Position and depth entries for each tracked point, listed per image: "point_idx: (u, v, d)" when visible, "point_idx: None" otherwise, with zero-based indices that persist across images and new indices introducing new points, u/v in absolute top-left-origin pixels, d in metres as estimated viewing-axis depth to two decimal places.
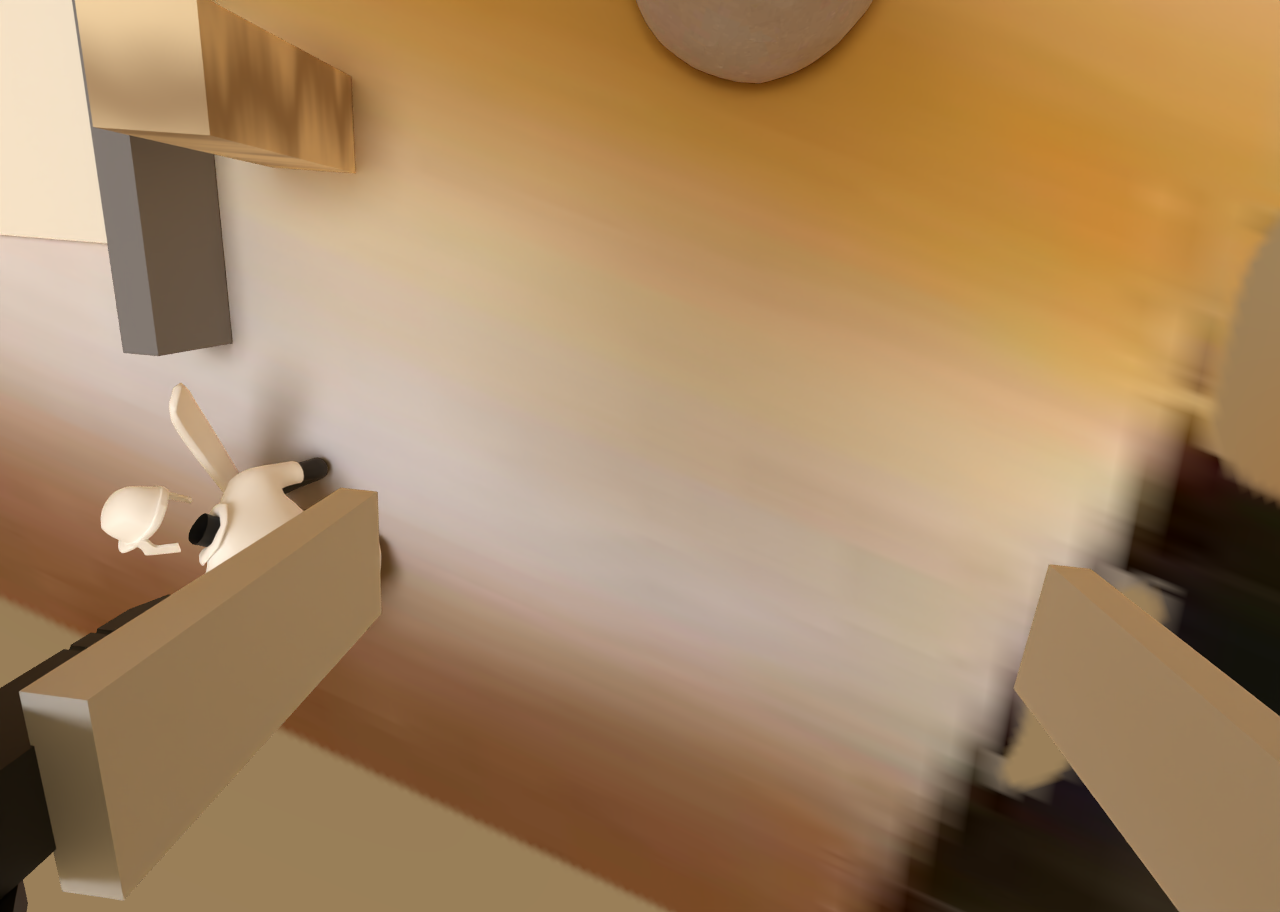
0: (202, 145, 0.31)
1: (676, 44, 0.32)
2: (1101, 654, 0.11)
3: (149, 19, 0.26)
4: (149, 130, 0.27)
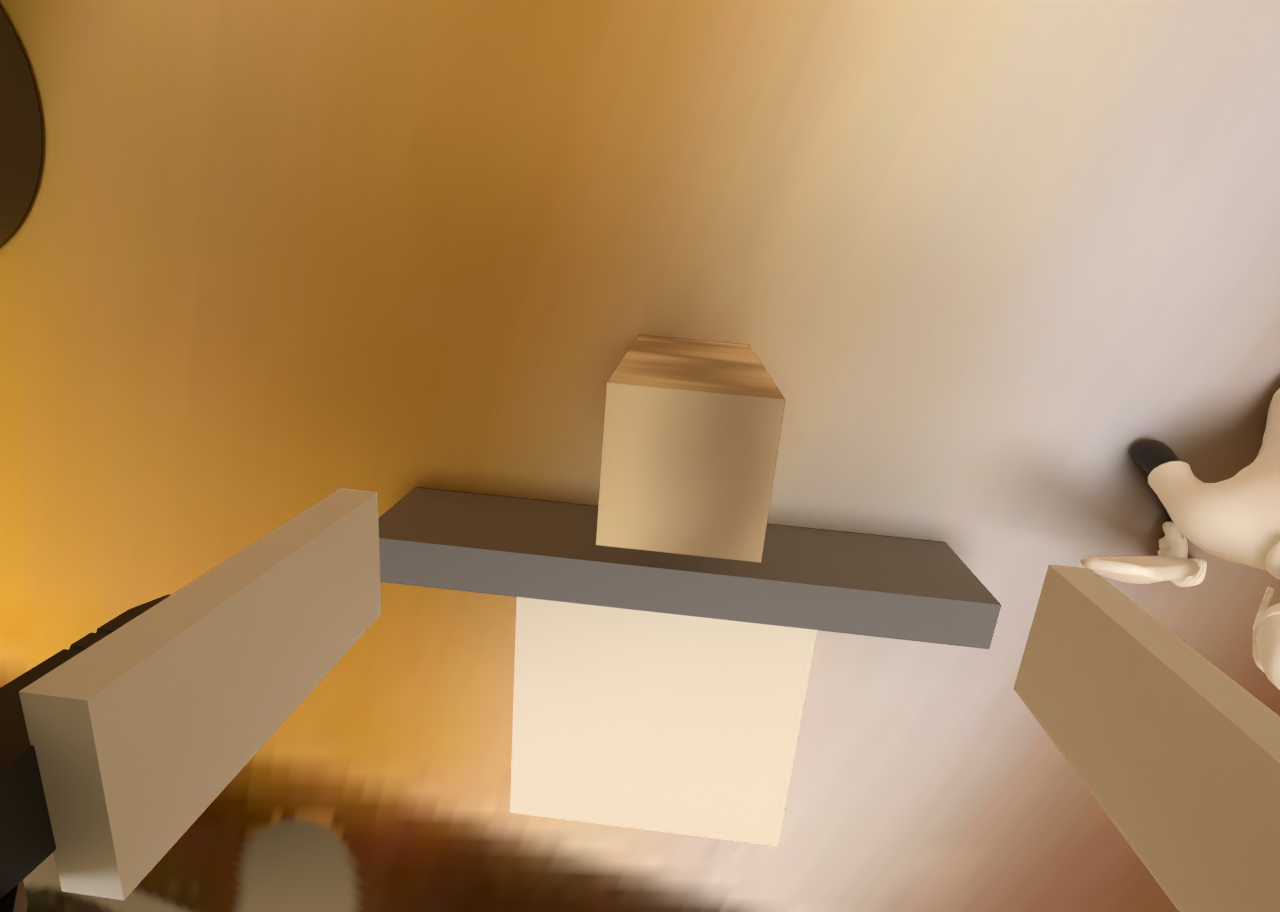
0: None
1: None
2: (1101, 654, 0.11)
3: (636, 453, 0.19)
4: (771, 487, 0.19)
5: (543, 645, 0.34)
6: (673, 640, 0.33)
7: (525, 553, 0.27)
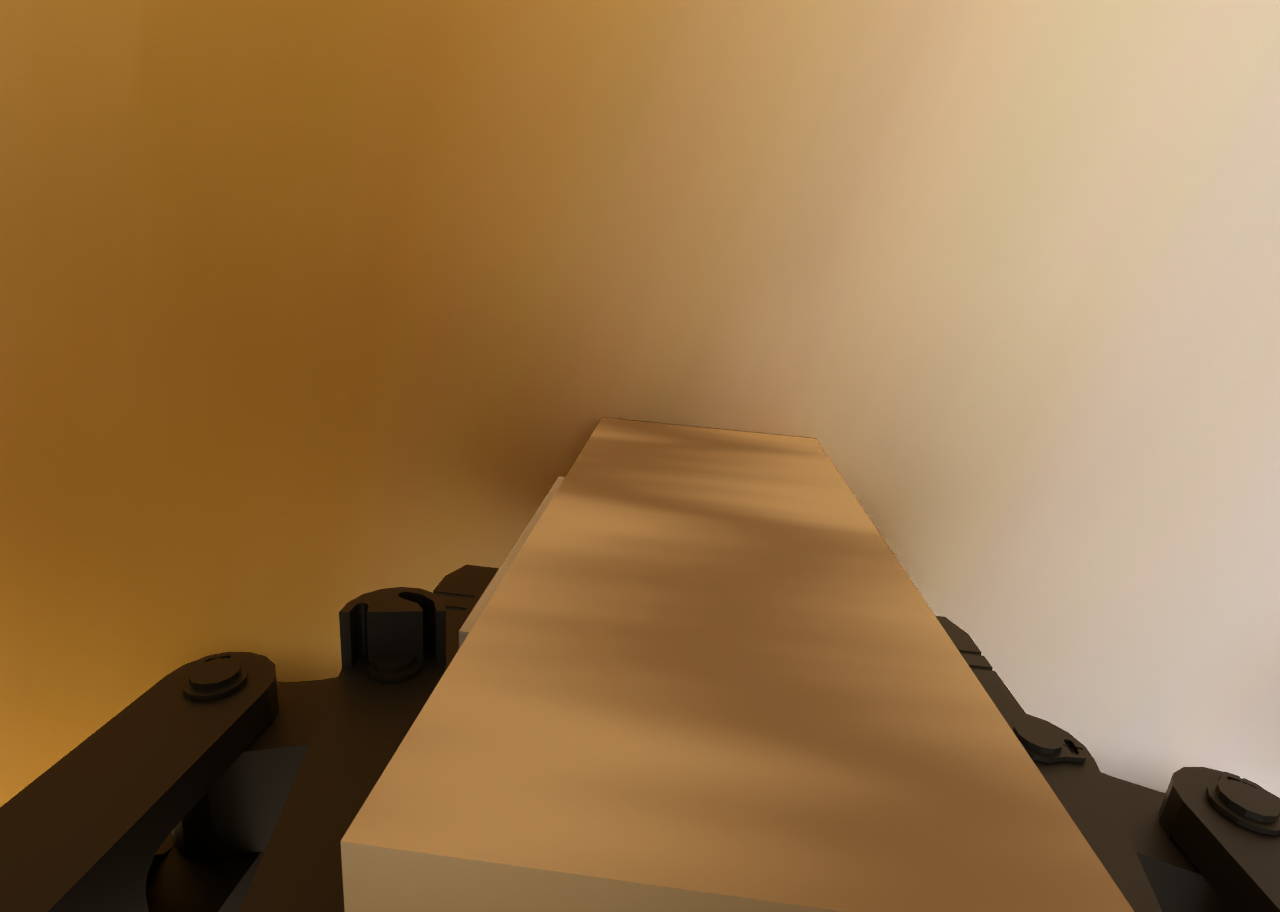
0: None
1: None
2: None
3: None
4: None
5: None
6: None
7: None
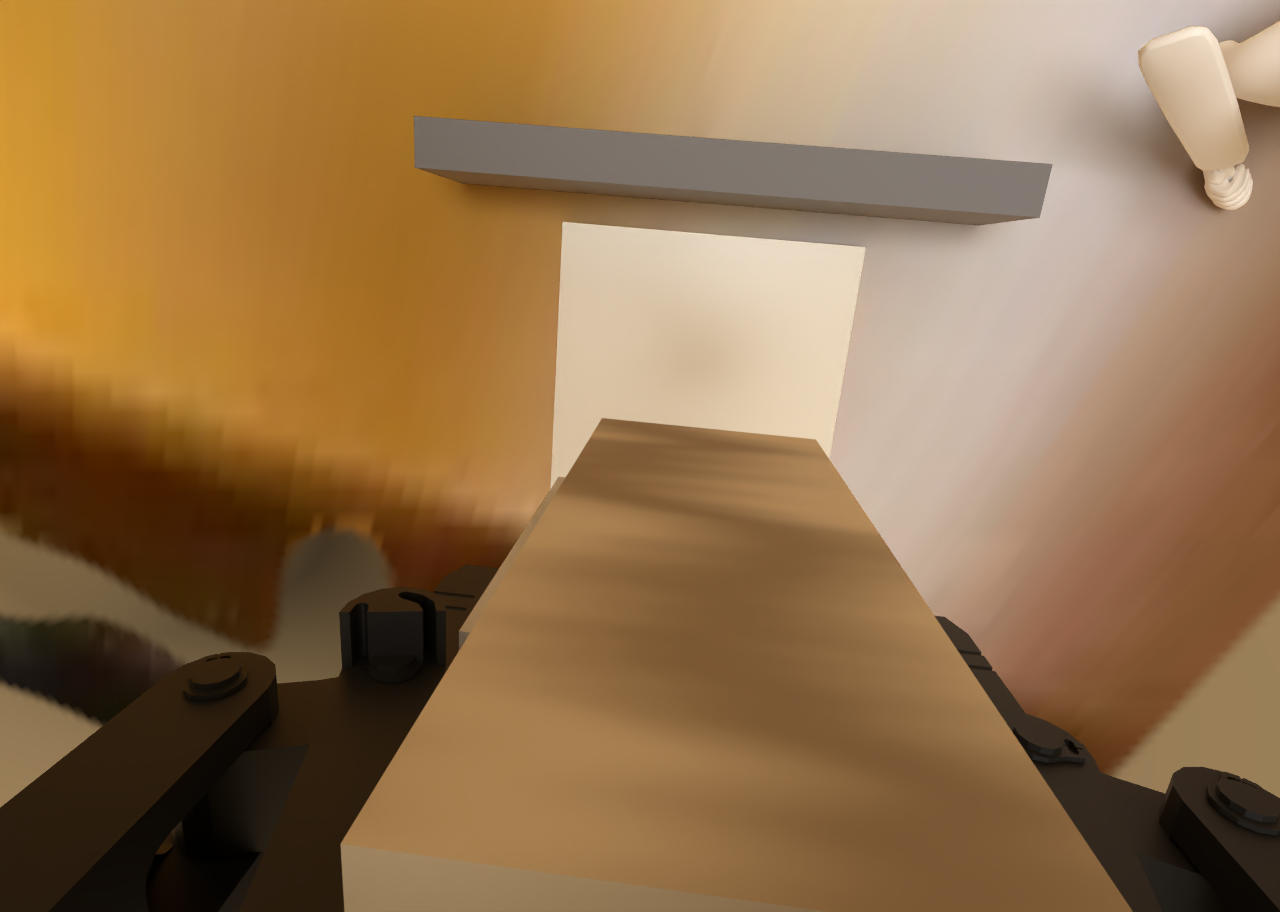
0: None
1: None
2: None
3: None
4: None
5: (586, 306, 0.34)
6: (716, 294, 0.34)
7: (579, 128, 0.27)
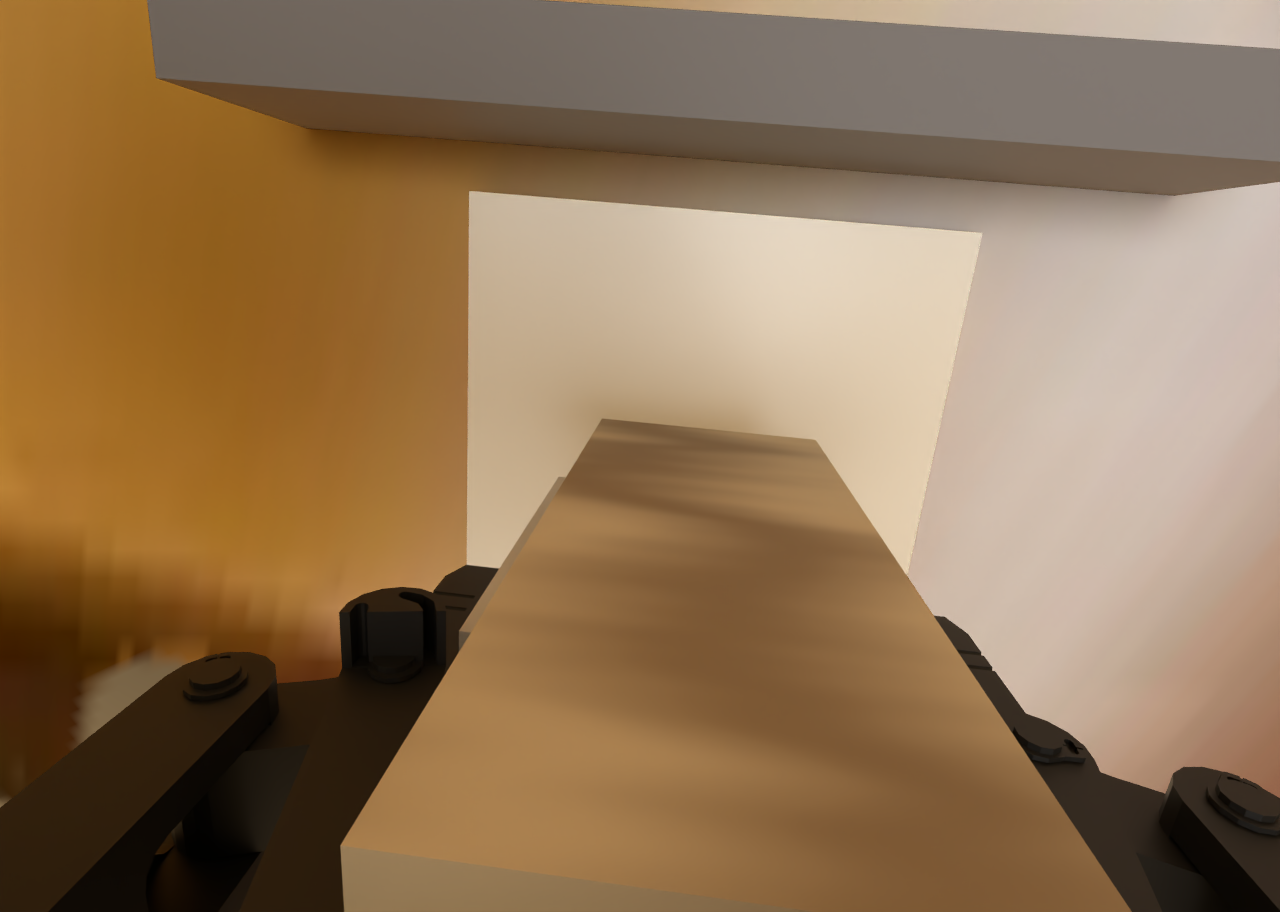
0: None
1: None
2: None
3: None
4: None
5: (513, 332, 0.21)
6: (727, 313, 0.20)
7: None
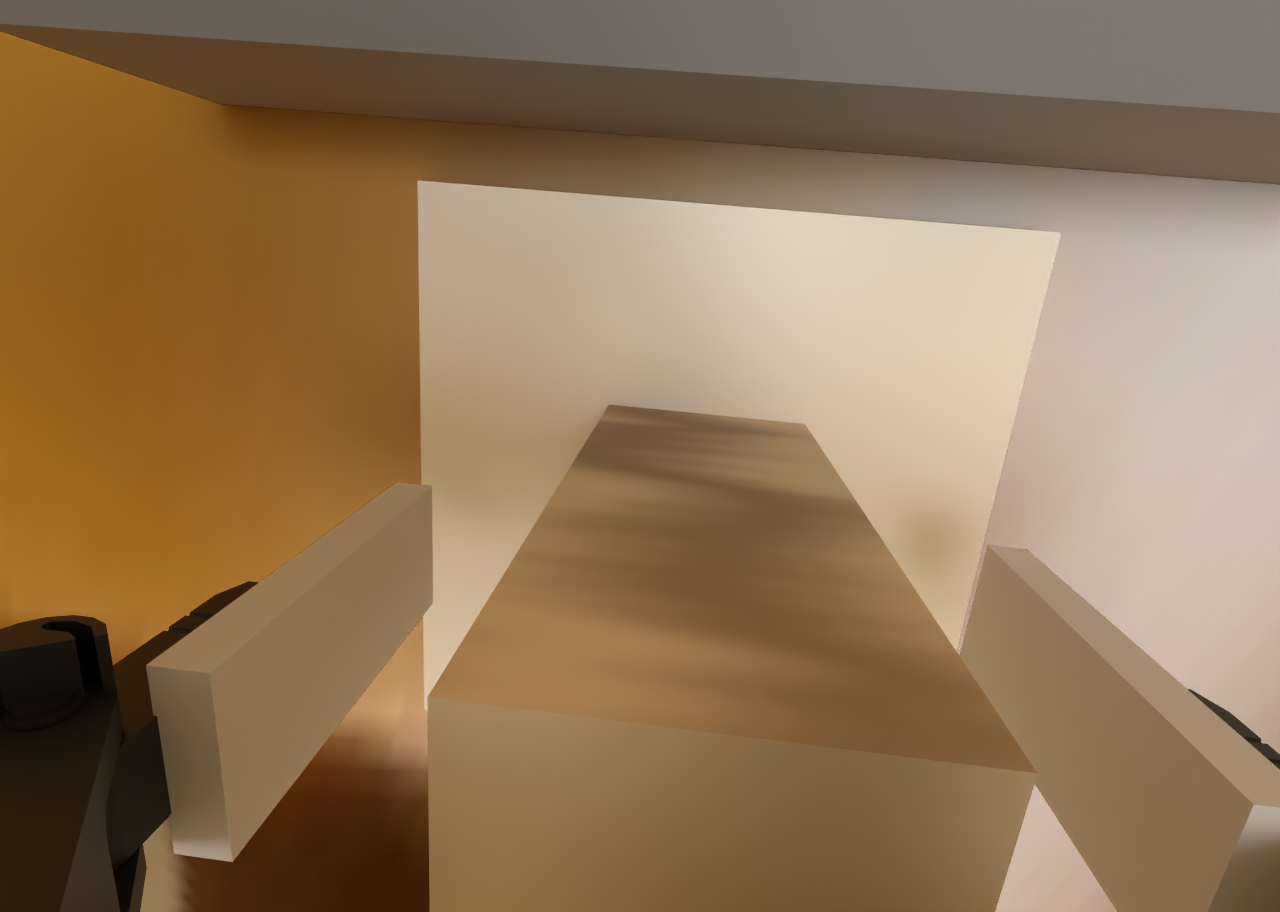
0: None
1: None
2: (1028, 626, 0.11)
3: (534, 893, 0.06)
4: None
5: (475, 354, 0.17)
6: (738, 332, 0.16)
7: None
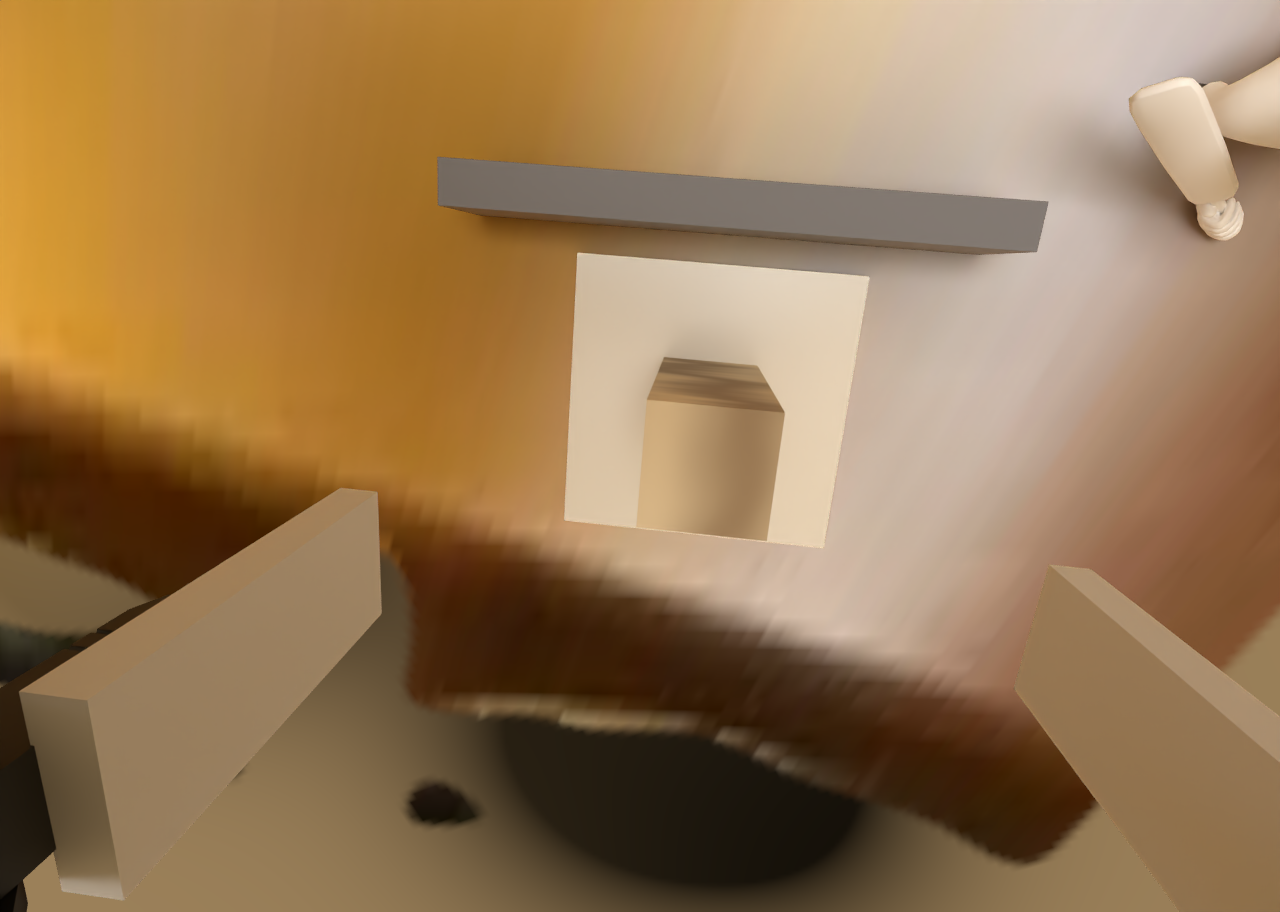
0: None
1: None
2: (1101, 653, 0.11)
3: (668, 454, 0.25)
4: (774, 481, 0.25)
5: (600, 333, 0.36)
6: (725, 321, 0.35)
7: (595, 168, 0.29)
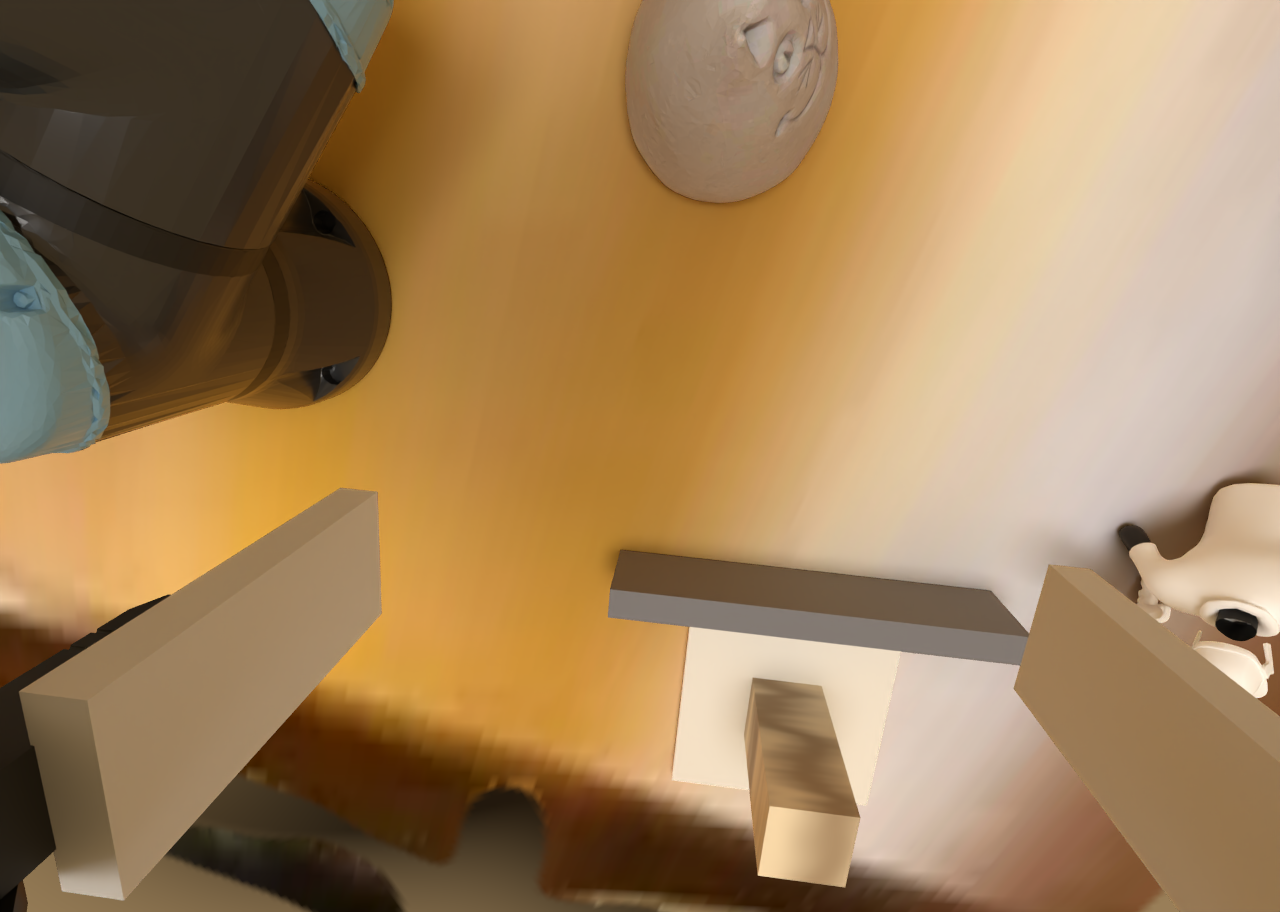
0: None
1: (808, 149, 0.37)
2: (1101, 654, 0.11)
3: (782, 836, 0.38)
4: (851, 854, 0.38)
5: (706, 660, 0.48)
6: (799, 657, 0.48)
7: (720, 601, 0.42)
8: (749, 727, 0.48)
